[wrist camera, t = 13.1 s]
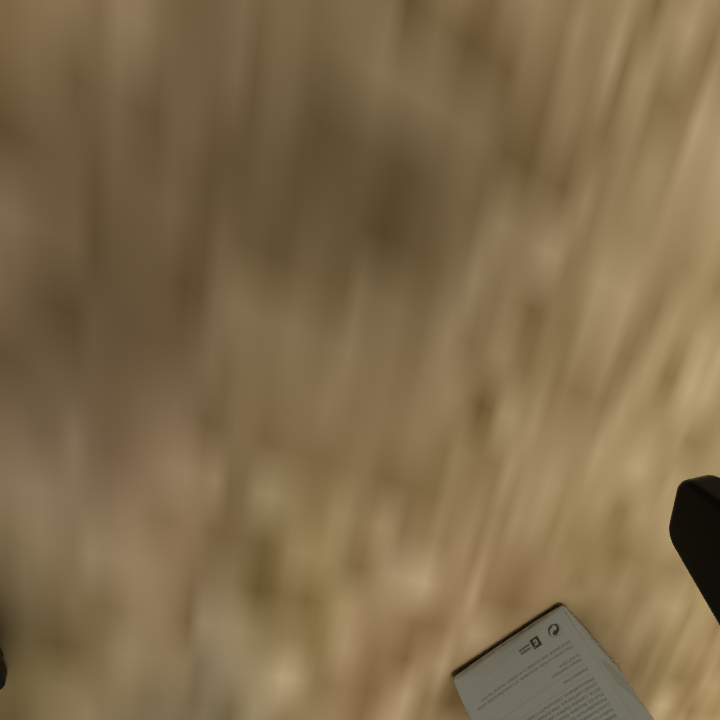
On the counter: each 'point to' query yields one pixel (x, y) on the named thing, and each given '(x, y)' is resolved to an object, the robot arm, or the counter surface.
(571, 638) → the skincare box
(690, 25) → the counter surface
